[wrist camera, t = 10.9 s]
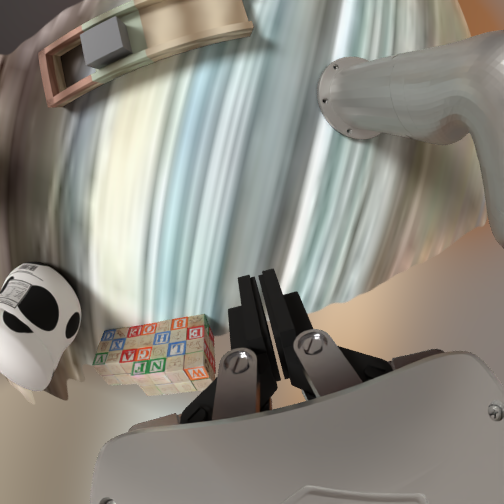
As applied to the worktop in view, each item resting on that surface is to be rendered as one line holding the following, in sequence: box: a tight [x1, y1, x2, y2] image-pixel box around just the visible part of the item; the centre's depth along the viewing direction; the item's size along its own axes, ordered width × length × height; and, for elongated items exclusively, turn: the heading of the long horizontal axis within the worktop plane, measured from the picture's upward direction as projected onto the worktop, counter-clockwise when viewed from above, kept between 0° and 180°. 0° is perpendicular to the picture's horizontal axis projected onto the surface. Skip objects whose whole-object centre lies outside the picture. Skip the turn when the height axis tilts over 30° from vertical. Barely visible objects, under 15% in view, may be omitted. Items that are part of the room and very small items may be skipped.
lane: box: [38, 0, 254, 108], centre depth 24 cm, size 28×10×4 cm, turn 104°
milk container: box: [0, 262, 81, 391], centre depth 34 cm, size 17×17×18 cm
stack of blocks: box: [92, 314, 216, 396], centre depth 43 cm, size 21×6×12 cm, turn 101°
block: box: [80, 16, 133, 69], centre depth 22 cm, size 5×5×4 cm
